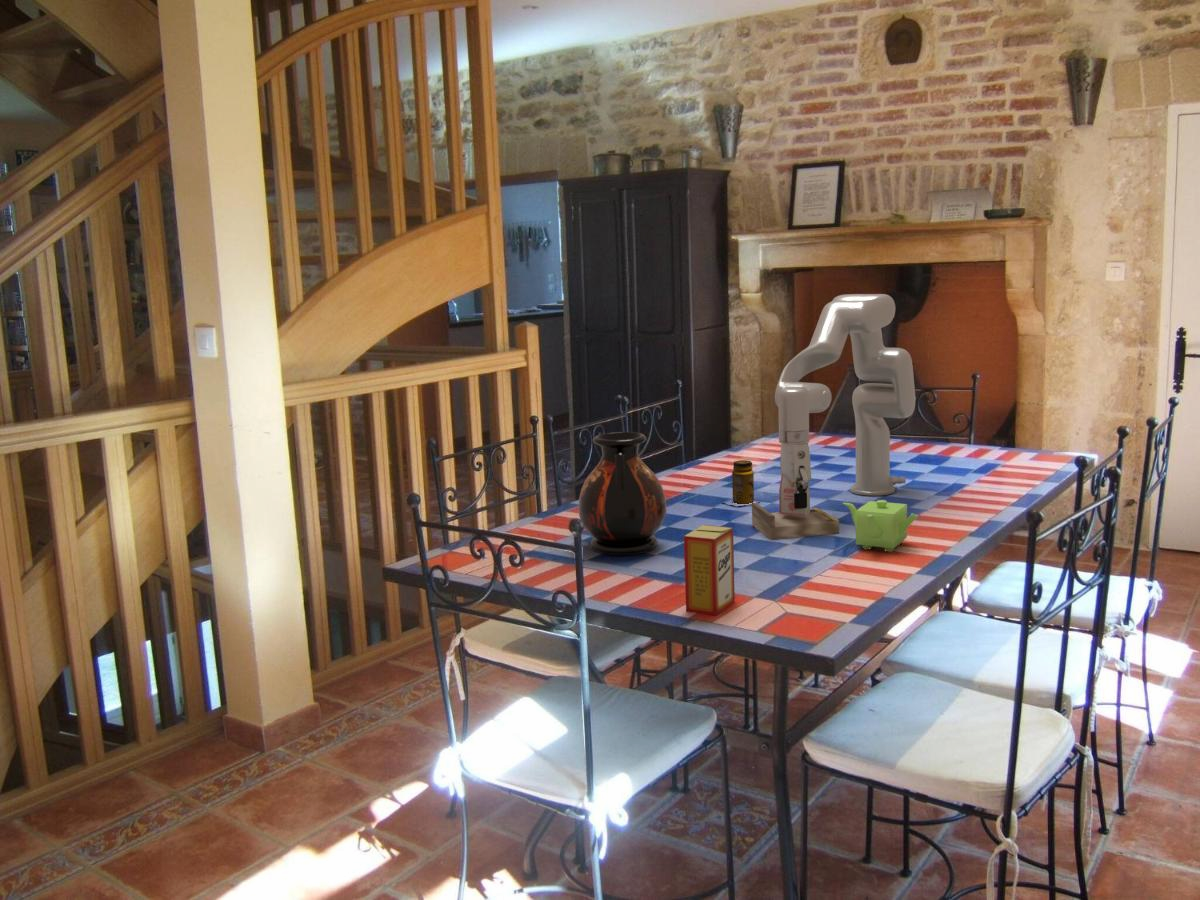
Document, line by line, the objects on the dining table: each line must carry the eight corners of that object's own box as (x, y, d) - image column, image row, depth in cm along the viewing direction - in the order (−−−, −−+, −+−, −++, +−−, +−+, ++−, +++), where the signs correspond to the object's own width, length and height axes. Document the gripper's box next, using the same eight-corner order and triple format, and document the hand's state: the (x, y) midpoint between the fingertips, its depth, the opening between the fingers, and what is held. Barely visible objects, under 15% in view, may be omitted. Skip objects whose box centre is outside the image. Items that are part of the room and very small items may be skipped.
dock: (817, 519, 274) (817, 497, 273) (838, 533, 261) (838, 509, 260) (752, 525, 271) (751, 503, 270) (770, 539, 258) (770, 516, 257)
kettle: (867, 558, 239) (867, 510, 237) (838, 542, 253) (838, 497, 251) (925, 550, 243) (926, 503, 241) (893, 536, 256) (893, 491, 254)
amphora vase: (582, 537, 268) (577, 430, 262) (666, 534, 267) (662, 426, 262) (578, 561, 246) (572, 445, 241) (669, 558, 246) (665, 442, 240)
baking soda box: (715, 615, 206) (714, 537, 203) (686, 611, 209) (683, 534, 206) (734, 601, 214) (733, 525, 211) (705, 597, 217) (703, 523, 214)
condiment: (760, 503, 296) (759, 461, 294) (737, 508, 291) (736, 466, 289) (743, 498, 302) (742, 458, 300) (721, 503, 297) (719, 462, 295)
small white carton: (785, 510, 269) (784, 472, 267) (810, 512, 265) (809, 474, 263) (779, 513, 266) (778, 475, 264) (804, 516, 262) (804, 477, 260)
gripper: (821, 440, 254) (822, 511, 257) (795, 429, 271) (796, 495, 274) (792, 443, 253) (793, 514, 256) (768, 431, 270) (769, 498, 273)
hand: (794, 504), depth 265 cm, fingers closed on small white carton, 7 cm apart
